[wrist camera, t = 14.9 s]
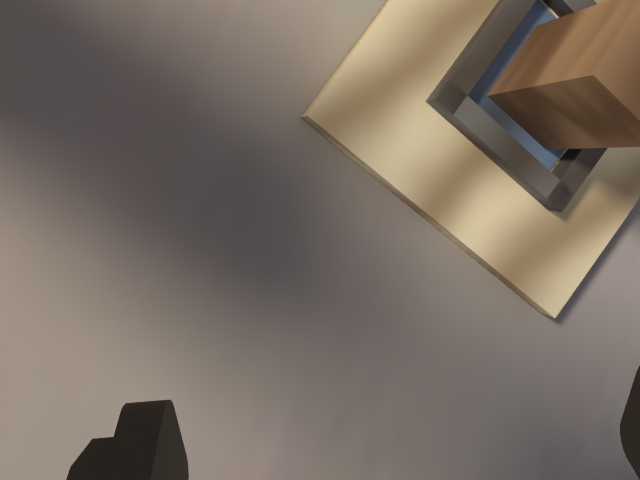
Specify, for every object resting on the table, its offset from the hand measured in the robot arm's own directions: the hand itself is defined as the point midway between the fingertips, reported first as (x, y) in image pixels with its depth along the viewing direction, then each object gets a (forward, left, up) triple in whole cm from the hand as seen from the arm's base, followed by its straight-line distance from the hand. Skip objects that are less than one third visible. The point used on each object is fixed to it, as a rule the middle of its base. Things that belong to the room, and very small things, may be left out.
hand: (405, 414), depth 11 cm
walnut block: (+7, +16, -19) cm, 26 cm away
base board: (+7, +16, -21) cm, 27 cm away
